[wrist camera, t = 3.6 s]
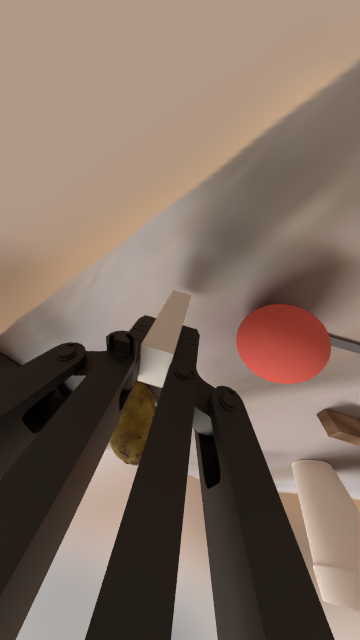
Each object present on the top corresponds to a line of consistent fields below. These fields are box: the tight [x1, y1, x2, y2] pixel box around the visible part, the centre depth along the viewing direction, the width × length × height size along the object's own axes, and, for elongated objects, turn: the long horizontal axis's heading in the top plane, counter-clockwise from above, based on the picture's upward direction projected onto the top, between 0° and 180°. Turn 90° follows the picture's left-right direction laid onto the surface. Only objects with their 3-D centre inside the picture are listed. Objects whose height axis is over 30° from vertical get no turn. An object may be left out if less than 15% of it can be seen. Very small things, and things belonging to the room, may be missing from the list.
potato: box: [109, 379, 156, 465], centre depth 21 cm, size 8×13×8 cm, turn 15°
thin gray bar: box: [329, 336, 360, 354], centre depth 14 cm, size 8×1×1 cm, turn 77°
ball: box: [236, 304, 331, 384], centre depth 12 cm, size 6×6×6 cm
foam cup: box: [292, 459, 360, 613], centre depth 23 cm, size 10×9×13 cm
